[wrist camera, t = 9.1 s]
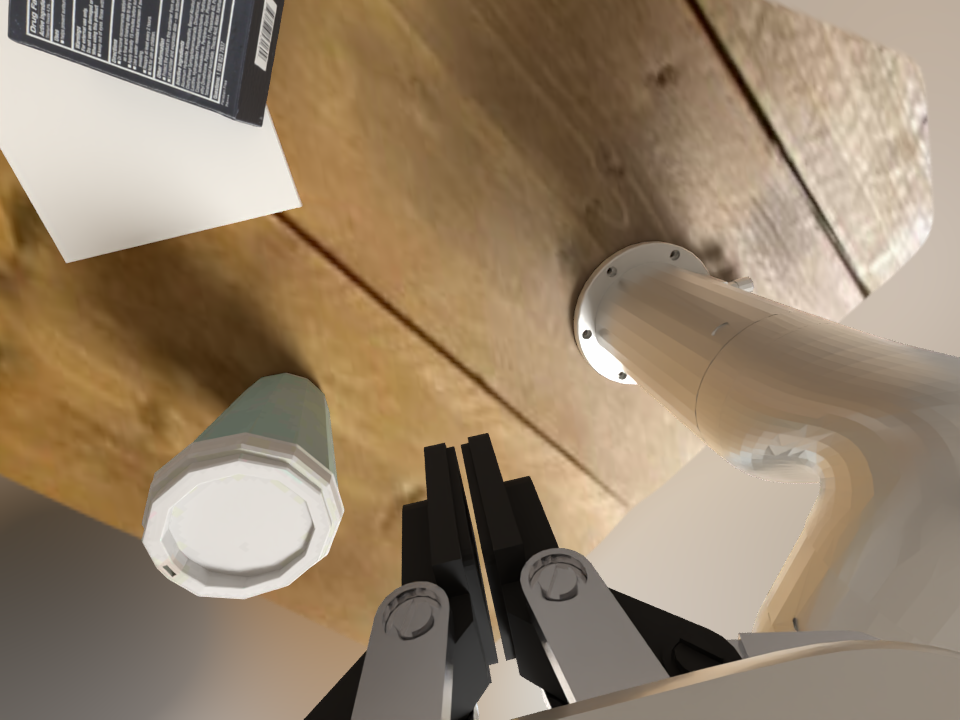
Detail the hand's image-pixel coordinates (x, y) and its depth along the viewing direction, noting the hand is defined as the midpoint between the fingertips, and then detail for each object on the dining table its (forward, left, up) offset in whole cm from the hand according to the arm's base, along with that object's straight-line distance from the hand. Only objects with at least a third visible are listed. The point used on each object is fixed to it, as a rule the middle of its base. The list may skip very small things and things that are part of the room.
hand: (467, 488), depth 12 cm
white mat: (+14, -14, -28) cm, 34 cm away
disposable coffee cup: (+13, +9, -28) cm, 32 cm away
